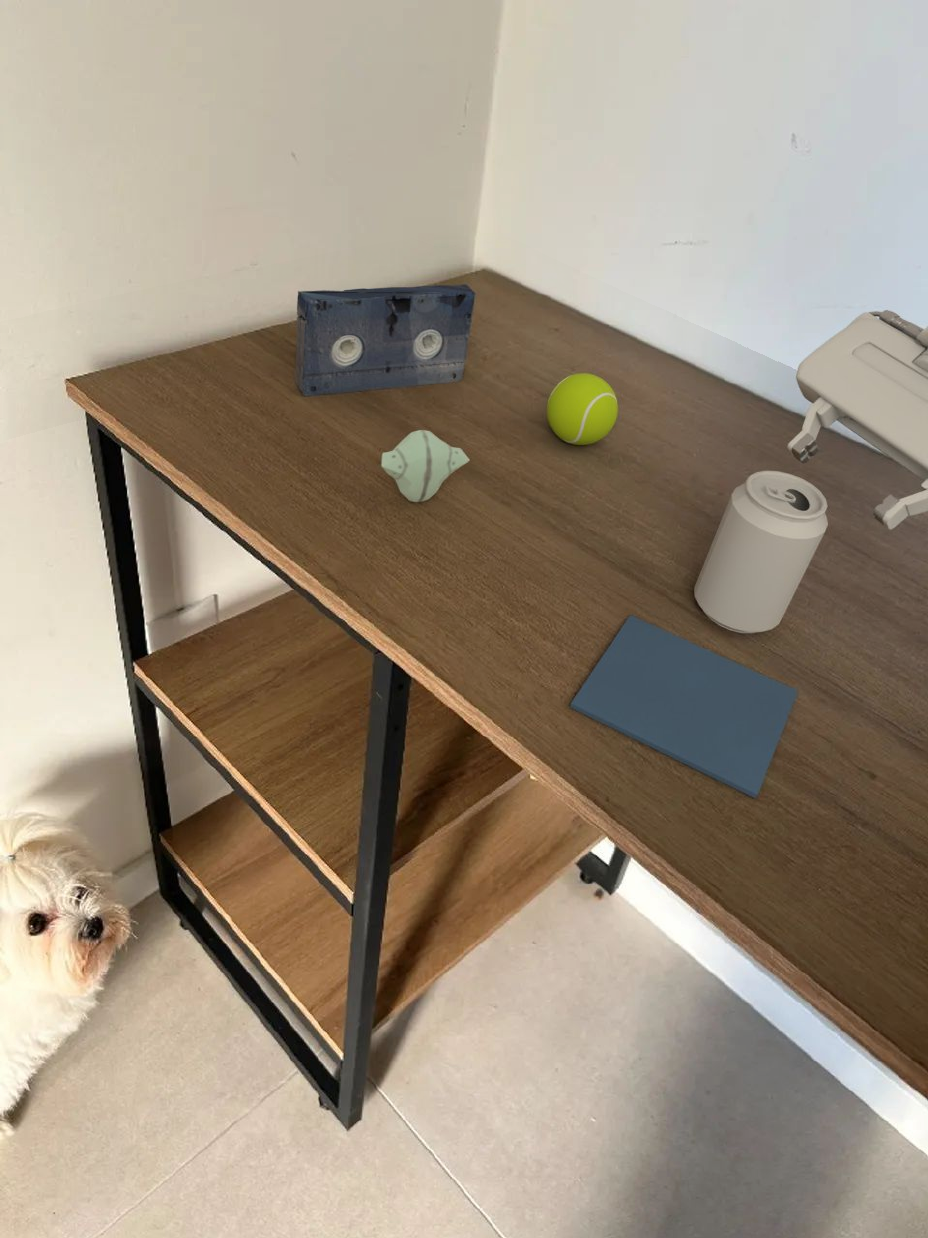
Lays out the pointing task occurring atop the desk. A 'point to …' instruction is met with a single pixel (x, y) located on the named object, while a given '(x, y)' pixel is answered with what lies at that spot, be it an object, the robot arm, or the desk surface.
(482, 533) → the desk surface
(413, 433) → the striped green spinning top
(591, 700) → the mat
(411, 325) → the vhs cassette tape
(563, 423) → the tennis ball
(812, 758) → the desk surface
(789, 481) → the can
